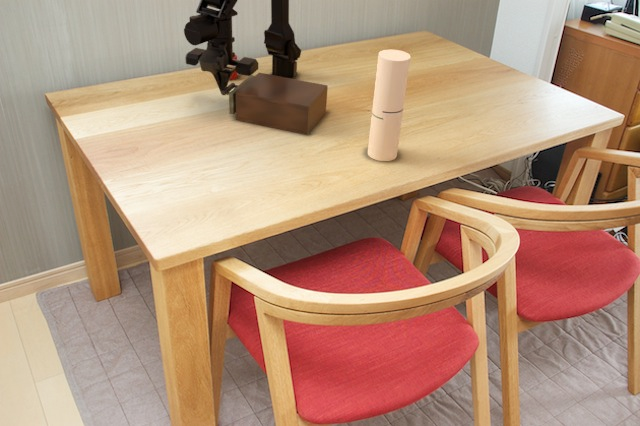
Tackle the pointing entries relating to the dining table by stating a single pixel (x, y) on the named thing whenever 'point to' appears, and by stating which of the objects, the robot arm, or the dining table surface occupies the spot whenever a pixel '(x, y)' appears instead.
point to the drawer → (234, 94)
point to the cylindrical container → (388, 104)
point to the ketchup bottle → (235, 71)
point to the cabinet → (281, 103)
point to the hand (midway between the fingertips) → (222, 91)
